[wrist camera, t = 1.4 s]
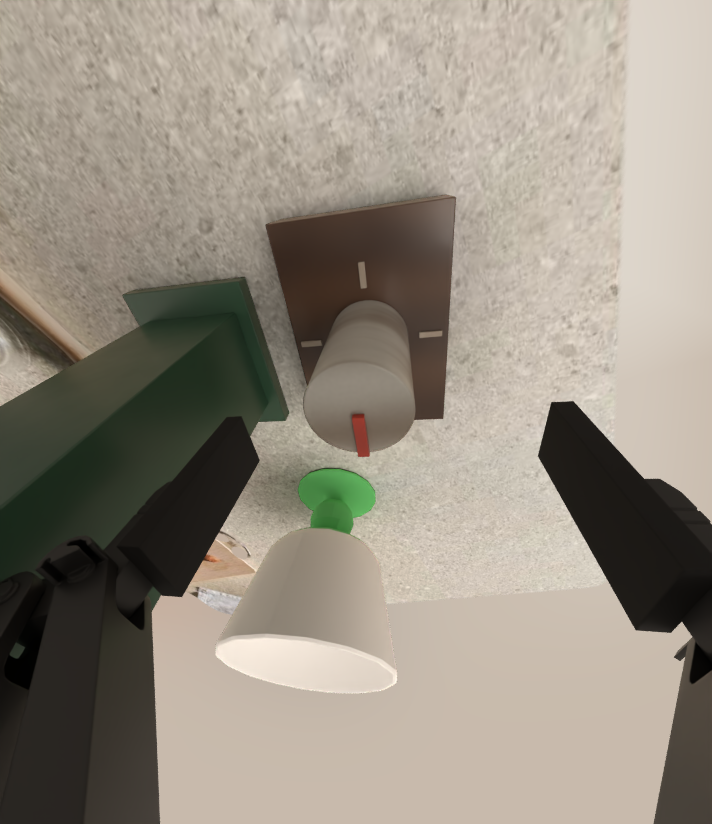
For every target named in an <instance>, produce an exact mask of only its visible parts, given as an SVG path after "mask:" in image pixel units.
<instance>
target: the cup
mask: <svg viewBox="0 0 712 824" xmlns="http://www.w3.org/2000/svg"><path fill="white" fill-rule="evenodd" d="M298 493H299V496H300V499H301V501H302V502H303V503H304V504H305V505H306V506H307V507H308V508H309V509H311V510H312V511H313V513H312V516H311V527H309V528H304V529H300V530H296V531H292V532H290V533H288V534H287V535H285V536H284V537H282V538H281V539H279V540H278V541H277V542H276V543H275V544H274V545H272V546H271V548H270V549H269V551H268V553H267V555H266V556H265V558H264V560H263V562H262V563H261V565H260V567H259V569H258V571H257V572H256V574H255V576H254V578H253V579H252V581H251V583H250V585H249V586H248V588H247V590H246V592H245V593H244V595H243V597H242V599H241V600H240V602H239V604H238V606H237V608H236V609H235V611H234V613H233V615H232V617H231V618H230V620H229V622H228V623H227V625H226V627H225V629H224V631H223V632H222V634H221V636H220V637H219V639H218V641H217V643H216V652H215V653H216V656H217V657H218V658H219V659H220V660H221V661H223V662H224V663H225V664H226V665H227V666H229V667H231V668H233V669H236V670H237V671H239V672H242V673H244V674H246V675H248V676H252V677H255V678H258V679H261V680H265V681H268V682H271V683H274V684H279V685H284V686H289V687H294V688H299V689H304V690H312V691H321V692H330V693H367V692H375V691H382V690H384V689H386V688H388V687H390V686H392V685H394V684H395V683H396V682H397V668H396V662H395V656H394V650H393V644H392V637H391V631H390V625H389V619H388V613H387V607H386V600H385V594H384V588H383V582H382V576H381V569H380V563H379V562H378V560H377V558H376V556H375V555H374V553H373V552H372V551H371V550H370V548H369V547H368V546H367V545H366V544H365V543H364V542H362V541H361V540H360V539H358V538H356V537H354V536H352V535H351V534H350V532H351V530H352V527H353V518H355V517H360V516H362V515H363V514H365V513H367V512H368V511H370V510H371V508H372V507H373V505H374V504H375V491H374V489H373V488H372V487H371V485H370V484H369V482H368V481H366V480H365V479H363V478H362V477H360V476H359V475H357V474H356V473H352V472H349V471H345V470H342V469H321V470H317V471H314V472H310V473H309V474H308V475H306V476H305V477H304V478H303V479H302V480H301V481H300V484H299V487H298Z"/></svg>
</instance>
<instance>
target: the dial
mask: <svg viewBox="0 0 712 824" xmlns="http://www.w3.org/2000/svg"><path fill="white" fill-rule="evenodd" d="M303 409H304V414H305V417H306V419H307V422H308V423H309V425H310V427H311V428H312V430H313V431H314V432H315V433H316V434H317V435H318V436H319V437H320V438H321V439H323V440H324V441H326V442H327V443H329V444H331V445H332V446H335V447H337V448H340V449H343V450H347V451H351V452H358V457H369V456H370V452H374V451H379V450H383V449H385V448H388V447H390V446H392V445H394V444H395V443H397V442H398V441H400V440H401V439H402V438H403V437H404V436H405V435H406V434H407V432H408V431H409V429H410V428H411V426H412V424H413V421H414V417H415V399H414V389H413V379H412V369H411V359H410V349H409V339H408V330H407V326H406V324H405V322H404V320H403V318H402V317H401V315H400V314H399V313H398V312H397V311H396V310H395V309H394V308H392V307H391V306H389V305H387V304H385V303H382V302H379V301H373V300H364V301H359V302H356V303H353V304H351V305H349V306H348V307H346V308H345V309H344V310H343V311H341V313H340V314H339V315H338V316H337V318H336V320H335V322H334V324H333V326H332V329H331V331H330V333H329V336H328V338H327V341H326V343H325V345H324V348H323V350H322V352H321V355H320V357H319V360H318V362H317V364H316V367H315V369H314V372H313V374H312V376H311V379H310V381H309V384H308V386H307V388H306V391H305V394H304V399H303Z"/></svg>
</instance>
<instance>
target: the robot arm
mask: <svg viewBox="0 0 712 824" xmlns="http://www.w3.org/2000/svg"><path fill="white" fill-rule="evenodd" d="M538 457H539V459H540V461H541V462H542V464H543V466H544V468H545V469H546V471H547V473H548V475H549V477H550V478H551V480H552V482H553V484H554V485H555V487H556V489H557V491H558V493H559V494H560V496H561V498H562V500H563V501H564V503H565V505H566V507H567V509H568V510H569V512H570V514H571V516H572V518H573V519H574V521H575V523H576V525H577V526H578V528H579V530H580V532H581V534H582V535H583V537H584V539H585V541H586V542H587V544H588V546H589V548H590V550H591V551H592V553H593V555H594V557H595V558H596V560H597V562H598V564H599V566H600V567H601V569H602V571H603V573H604V575H605V576H606V578H607V580H608V581H609V583H610V585H611V587H612V589H613V591H614V592H615V594H616V596H617V597H618V599H619V601H620V603H621V604H622V607H623V608H624V610H625V612H626V614H627V615H628V617H629V619H630V621H631V623H632V624H633V626H634V628H635V630H640V631H653V632H667V633H671V632H672V631H673V630H674V629H675V628H676V627H677V626H678V625H679V624H680V623H681V622H683V624H684V625H685V627H686V628H687V630H688V631H689V632H690V634H691V635H692V638H691V639H690V640H689V641H688V642H687V643H686V644H685V645H684V646H683V647H682V648H681V649H679V650H678V652H677V653H676V655H675V656H674V658H676V659H678V660H679V661H681V660H682V659H683V658H684V657H685V661H684V667H683V672H682V677H681V682H680V687H679V693H678V698H677V703H676V708H675V714H674V719H673V724H672V730H671V735H670V740H669V745H668V751H667V756H666V761H665V767H664V772H663V777H662V782H661V787H660V793H659V798H658V803H657V809H656V814H655V819H654V824H712V525H711V523H710V520H709V519H708V518H707V517H706V516H704V514H703V513H702V512H701V511H698V510H697V507H696V506H694V504H693V503H692V502H691V501H690V500H689V499H688V498H687V497H686V496H685V495H684V494H683V493H682V492H680V491H679V490H677V489H675V488H674V487H672V486H671V485H669V484H667V483H666V482H664V481H662V480H661V479H644V478H643V477H642V476H641V475H640V474H639V473H638V472H637V471H636V470H635V469H634V468H633V466H632V465H631V464H630V463H629V462H628V461H627V460H626V459H625V458H624V456H623V455H622V454H621V453H620V452H619V451H618V450H617V449H616V448H615V446H614V445H613V444H612V443H611V442H610V441H609V440H608V439H607V438H606V437H605V436H604V434H603V433H602V432H601V431H600V430H599V429H598V428H597V427H596V426H595V425H594V423H593V422H592V421H591V420H590V419H589V418H588V417H587V416H586V415H585V414H584V412H583V411H582V410H581V409H580V408H579V407H578V406H577V405H576V404H575V403H574V401H569V402H551V406H550V410H549V414H548V418H547V422H546V426H545V430H544V434H543V438H542V442H541V446H540V450H539V454H538ZM259 461H260V460H259V458H258V455H257V453H256V450H255V448H254V445H253V443H252V440H251V438H250V435H249V433H248V430H247V428H246V426H245V423H244V421H243V418H242V416H235V417H226V418H225V420H224V421H223V422H222V423H221V424H220V425H219V427H218V428H217V429H216V430H215V431H214V432H213V434H212V435H211V436H210V437H209V438H208V439H207V441H206V442H205V443H204V444H203V445H202V447H201V448H200V449H199V450H198V451H197V452H196V454H195V455H194V456H193V457H192V458H191V459H190V461H189V462H188V463H187V464H186V465H185V466H184V468H183V469H182V470H181V471H180V472H179V473H178V475H177V476H176V477H175V478H174V479H173V481H172V482H167V483H166V484H165V485H163V486H162V487H161V488H159V489H158V490H157V491H155V492H154V493H153V495H152V496H151V497H150V498H149V499H148V500H147V501H146V502H145V505H143V506H142V507H141V508H140V509H139V510H138V512H137V514H136V515H134V516H133V517H132V518H131V520H130V521H129V522H128V523H127V524H126V525H125V526H124V527H123V529H122V530H121V531H120V532H119V533H118V534H117V535H116V537H115V538H114V539H113V540H112V541H111V542H110V543H109V544H108V546H107V547H106V548H105V549H104V550H102V548H101V547H100V546H99V545H98V544H97V543H96V542H95V541H94V540H93V539H92V538H91V537H88V536H86V535H84V536H77V537H74V538H71V539H68V540H66V541H65V542H63V543H61V544H59V545H57V546H56V547H55V548H54V549H52V550H51V551H50V552H48V553H47V554H46V555H45V556H44V557H43V558H42V560H41V561H40V562H39V563H38V565H37V567H36V569H35V571H37V572H38V573H39V574H40V575H42V576H43V577H44V578H45V579H42V580H41V579H40V578H39V577H37V576H36V575H35V574H34V573H32V572H28V571H25V572H20V573H17V574H15V575H12V576H10V577H8V578H6V579H4V580H3V581H1V582H0V824H160V815H159V814H160V813H159V787H158V763H157V738H156V712H155V687H154V663H153V640H152V639H153V637H152V612H151V601H150V598H149V596H148V593H149V592H150V590H151V589H152V587H154V588H155V589H156V590H157V591H158V592H159V593H160V594H161V595H162V596H175V597H182V596H183V594H184V593H185V591H186V589H187V587H188V586H189V584H190V582H191V580H192V579H193V577H194V575H195V573H196V572H197V570H198V568H199V566H200V564H201V563H202V561H203V559H204V557H205V556H206V554H207V552H208V550H209V549H210V547H211V545H212V543H213V542H214V540H215V538H216V536H217V535H218V533H219V531H220V529H221V528H222V526H223V524H224V522H225V521H226V519H227V517H228V515H229V514H230V512H231V510H232V508H233V507H234V505H235V503H236V501H237V500H238V498H239V496H240V494H241V493H242V491H243V489H244V487H245V486H246V484H247V482H248V480H249V479H250V477H251V475H252V473H253V472H254V470H255V468H256V466H257V464H258V463H259ZM16 643H18V644H20V645H21V646H23V647H25V648H24V650H23V652H22V654H21V655H20V657H19V658H14V657H12V656H10V653H11V651H12V649H13V647H14V645H15V644H16Z"/></svg>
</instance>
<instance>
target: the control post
mask: <svg viewBox="0 0 712 824" xmlns="http://www.w3.org/2000/svg"><path fill="white" fill-rule="evenodd" d="M122 296H123V298H124V300H125V301H126V303H127V305H128V307H129V308H130V310H131V312H132V314H133V315H134V317H135V319H136V321H137V322H138V324H139V326H140V327H138V328H136V329H135V330H133V331H131V332H129V333H128V334H126V335H124V336H122V337H121V338H119V339H117V340H115V341H114V342H112V343H110V344H108V345H107V346H105V347H103V348H101V349H100V350H98V351H96V352H95V353H93V354H91V355H89V356H88V357H86V358H84V359H82V360H81V361H79V362H77V363H75V364H74V365H72V366H70V367H68V368H67V369H65V370H63V371H61V372H60V373H58V374H56V375H54V376H53V377H51V378H49V379H47V380H46V381H44V382H42V383H40V384H39V385H37V386H35V387H33V388H32V389H30V390H28V391H26V392H25V393H23V394H21V395H19V396H18V397H16V398H14V399H12V400H11V401H9V402H7V403H5V404H4V405H2V406H0V582H1V581H3V580H4V579H6V578H8V577H10V576H12V575H15V574H17V573H20V572H25V571H28V572H32V573H34V574H35V575H36V576H37V577H39V578H40V579H41V580H42V579H45V578H44V577H43V576H42V575H40V574H39V573H38V572H37V571H35V569H36V567H37V565H38V563H39V562H40V561H41V560H42V558H43V557H44V556H45V555H46V554H47V553H48V552H50V551H51V550H52V549H54V548H55V547H56V546H57V545H59V544H61V543H63V542H65V541H66V540H68V539H71V538H74V537H77V536H84V535H86V536H88V537H91V538H92V539H93V540H94V541H95V542H96V543H97V544H98V545H99V546H100V547H101V548H102V550H104V549H105V548H106V547H107V546H108V544H109V543H110V542H111V541H112V540H113V539H114V538H115V537H116V535H117V534H118V533H119V532H120V531H121V530H122V529H123V527H124V526H125V525H126V524H127V523H128V522H129V521H130V520H131V518H132V517H133V516H134V515H136V514H137V512H138V510H139V509H140V508H141V507H142V506H143V505H145V502H146V501H147V500H148V499H149V498H150V497H151V496H152V495H153V493H154V492H155V491H157V490H158V489H159V488H161V487H162V486H163V485H165V484H166V483H167V482H172V481H173V479H174V478H175V477H176V476H177V475H178V473H179V472H180V471H181V470H182V469H183V468H184V466H185V465H186V464H187V463H188V462H189V461H190V459H191V458H192V457H193V456H194V455H195V454H196V452H197V451H198V450H199V449H200V448H201V447H202V445H203V444H204V443H205V442H206V441H207V439H208V438H209V437H210V436H211V435H212V434H213V432H214V431H215V430H216V429H217V428H218V427H219V425H220V424H221V423H222V422H223V421H224V420H225V418H226V417H235V416H242V418H243V421H244V423H245V426H246V428H247V430H248V433H249V435H250V436H251V434H252V432H253V430H254V428H255V427H256V425H257V423H258V422H268V421H286V419H287V417H288V414H289V411H288V408H287V405H286V402H285V399H284V396H283V393H282V390H281V387H280V383H279V380H278V377H277V374H276V371H275V368H274V365H273V362H272V359H271V356H270V353H269V350H268V347H267V343H266V340H265V337H264V334H263V331H262V328H261V325H260V322H259V319H258V316H257V313H256V310H255V307H254V303H253V300H252V297H251V294H250V291H249V288H248V285H247V282H246V279H245V277H241V278H232V279H224V280H216V281H207V282H199V283H191V284H182V285H174V286H166V287H157V288H149V289H141V290H133V291H130V292H128V293H126V294H123V295H122ZM148 596H149V598H150V601H151V612H152V610H153V608H154V607H155V605H156V603H157V601H158V600H159V598H160V596H161V594H160V593H159V592H158V591H157V590H156V589H155V588H154V587H152V589H151V590H150V592H149V593H148ZM24 648H25V647H23V646H21V645H20V644H18V643H16V644H15V645H14V647H13V649H12V651H11V653H10V656H12V657H14V658H19V657H20V655H21V654H22V652H23V650H24Z"/></svg>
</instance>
